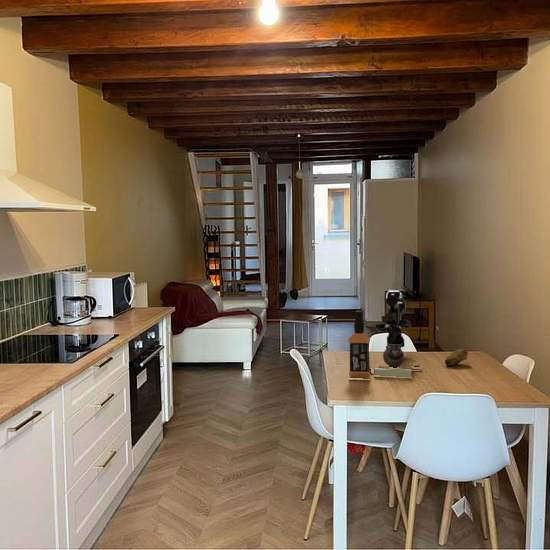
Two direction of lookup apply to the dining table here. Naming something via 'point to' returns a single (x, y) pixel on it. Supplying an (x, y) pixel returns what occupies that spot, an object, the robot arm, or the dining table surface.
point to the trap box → (416, 366)
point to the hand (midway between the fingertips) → (392, 341)
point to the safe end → (393, 372)
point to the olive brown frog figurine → (456, 357)
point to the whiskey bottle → (359, 350)
